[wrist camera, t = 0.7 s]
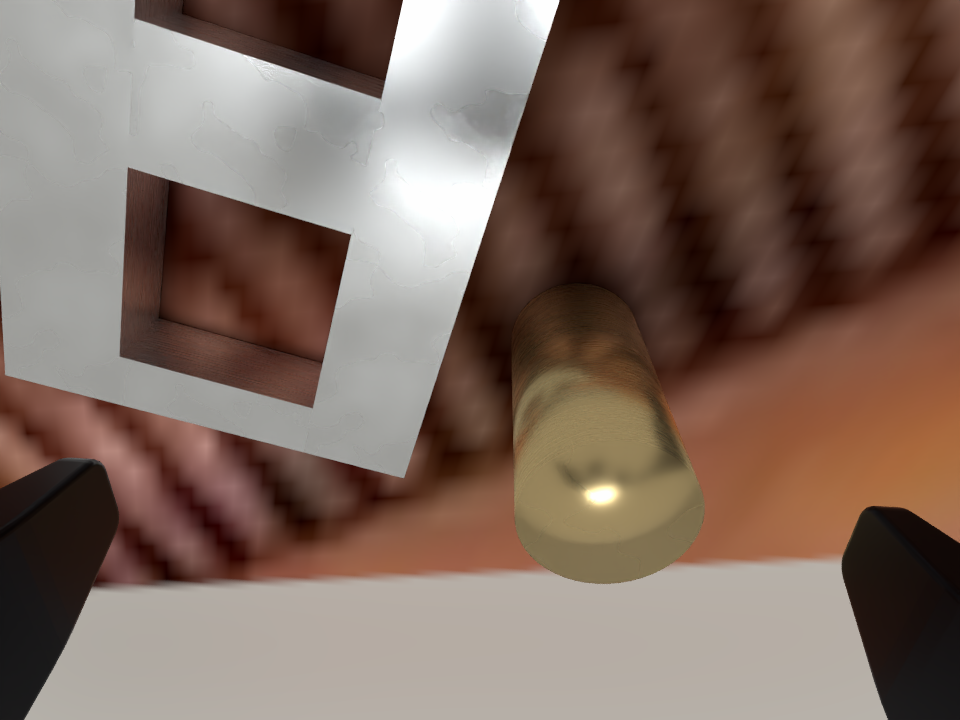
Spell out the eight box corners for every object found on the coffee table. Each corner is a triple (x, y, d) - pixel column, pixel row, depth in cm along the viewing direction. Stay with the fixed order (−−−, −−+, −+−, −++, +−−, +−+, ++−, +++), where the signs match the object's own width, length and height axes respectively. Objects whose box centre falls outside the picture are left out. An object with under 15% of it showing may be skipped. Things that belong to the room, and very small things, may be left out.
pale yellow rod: (659, 304, 20) (739, 471, 13) (608, 408, 22) (655, 600, 15) (535, 267, 20) (553, 419, 13) (495, 376, 22) (490, 559, 15)
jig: (619, -214, 14) (640, -248, 12) (413, 431, 23) (403, 478, 21) (46, -445, 13) (-46, -531, 11) (55, 335, 22) (5, 375, 19)
